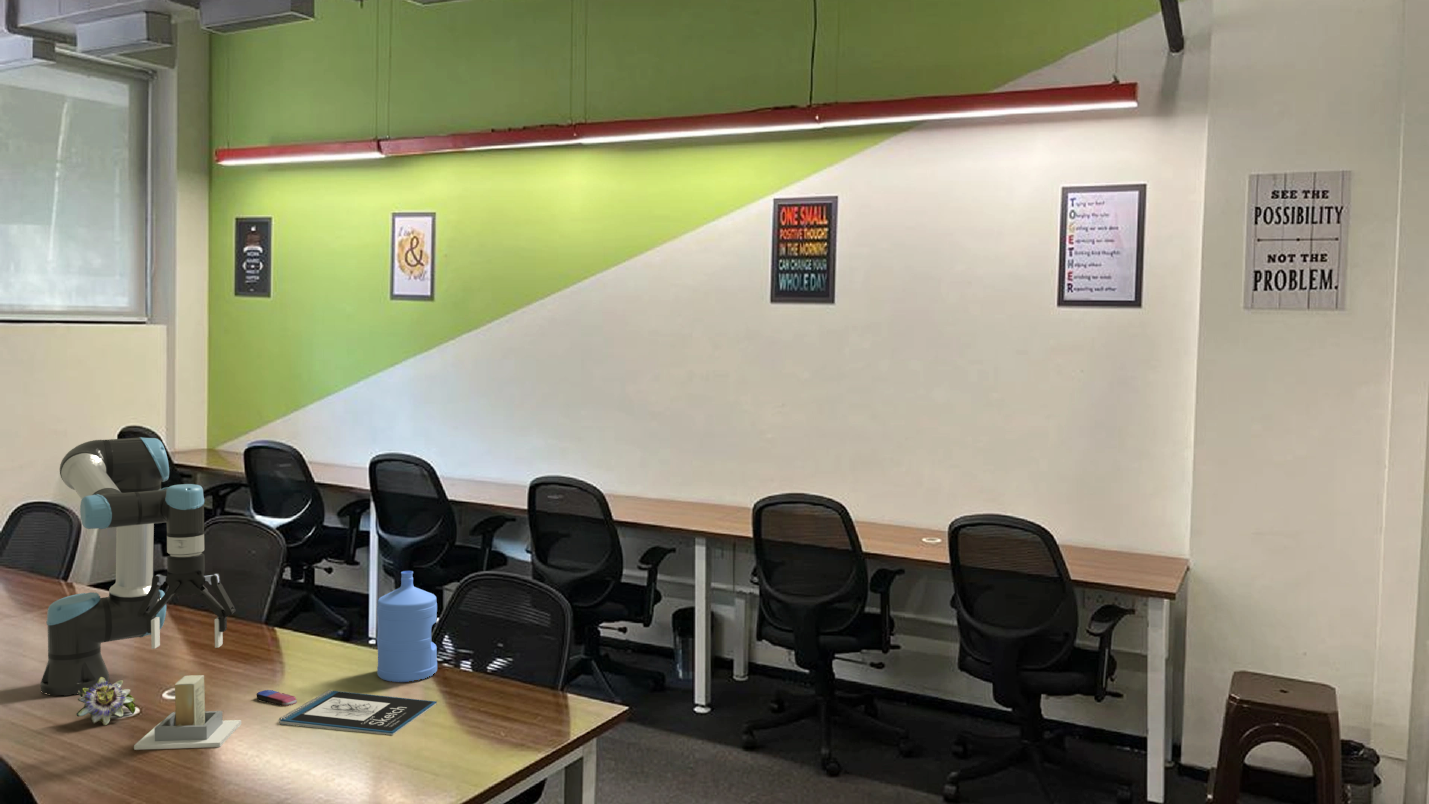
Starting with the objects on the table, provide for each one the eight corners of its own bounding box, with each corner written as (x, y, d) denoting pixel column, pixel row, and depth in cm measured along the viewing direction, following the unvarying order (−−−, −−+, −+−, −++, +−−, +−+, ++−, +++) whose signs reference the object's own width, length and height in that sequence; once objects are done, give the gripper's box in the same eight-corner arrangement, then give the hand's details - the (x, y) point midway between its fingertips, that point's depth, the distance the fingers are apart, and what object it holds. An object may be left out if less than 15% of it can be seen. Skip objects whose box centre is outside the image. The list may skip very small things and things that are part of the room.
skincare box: (186, 727, 241) (185, 674, 240) (205, 726, 241) (205, 674, 241) (174, 737, 235) (173, 683, 234) (194, 737, 235) (194, 683, 234)
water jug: (401, 687, 273) (400, 581, 272) (365, 675, 283) (364, 572, 281) (449, 672, 286) (449, 571, 284) (413, 661, 295) (413, 563, 294)
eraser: (299, 703, 261) (299, 696, 261) (286, 708, 258) (286, 701, 258) (267, 695, 266) (268, 688, 266) (254, 699, 263) (254, 692, 263)
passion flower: (106, 746, 245) (75, 715, 238) (91, 726, 252) (60, 695, 245) (150, 711, 251) (121, 680, 244) (134, 692, 258) (105, 661, 251)
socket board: (134, 749, 230) (133, 731, 230) (160, 726, 244) (160, 709, 244) (220, 747, 232) (219, 729, 232) (241, 724, 246) (241, 707, 246)
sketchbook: (393, 738, 240) (393, 729, 240) (276, 726, 246) (276, 717, 246) (436, 706, 261) (436, 697, 261) (328, 696, 267) (328, 688, 267)
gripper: (119, 557, 231) (121, 652, 232) (238, 556, 233) (239, 650, 235) (134, 550, 238) (136, 642, 239) (249, 549, 241) (250, 640, 242)
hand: (187, 646), depth 237 cm, fingers open, 13 cm apart
